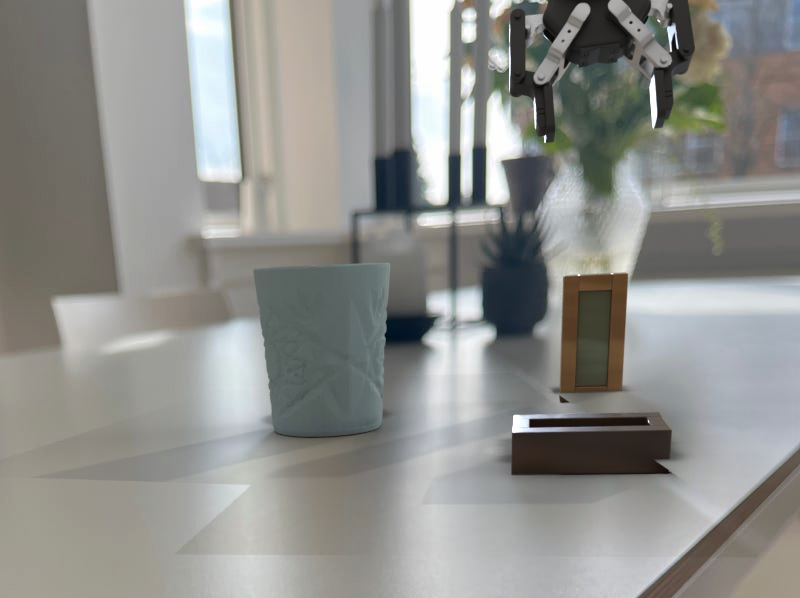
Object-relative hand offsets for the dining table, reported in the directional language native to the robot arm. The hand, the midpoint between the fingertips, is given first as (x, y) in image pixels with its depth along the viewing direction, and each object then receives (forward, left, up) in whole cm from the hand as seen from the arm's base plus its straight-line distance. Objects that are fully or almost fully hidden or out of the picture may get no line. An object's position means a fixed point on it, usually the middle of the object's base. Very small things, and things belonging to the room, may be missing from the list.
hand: (604, 130), depth 82 cm
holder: (+7, +28, -21) cm, 36 cm away
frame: (+1, +3, -21) cm, 21 cm away
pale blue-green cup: (+23, +10, -21) cm, 33 cm away
